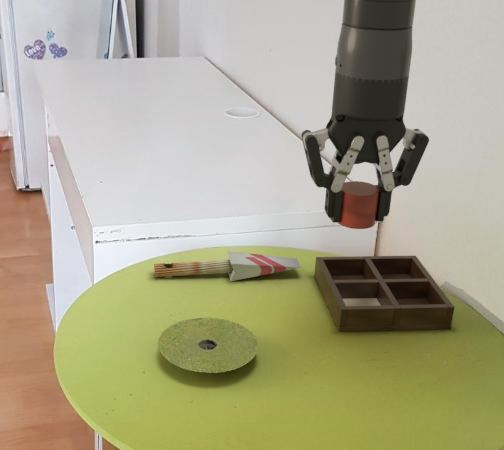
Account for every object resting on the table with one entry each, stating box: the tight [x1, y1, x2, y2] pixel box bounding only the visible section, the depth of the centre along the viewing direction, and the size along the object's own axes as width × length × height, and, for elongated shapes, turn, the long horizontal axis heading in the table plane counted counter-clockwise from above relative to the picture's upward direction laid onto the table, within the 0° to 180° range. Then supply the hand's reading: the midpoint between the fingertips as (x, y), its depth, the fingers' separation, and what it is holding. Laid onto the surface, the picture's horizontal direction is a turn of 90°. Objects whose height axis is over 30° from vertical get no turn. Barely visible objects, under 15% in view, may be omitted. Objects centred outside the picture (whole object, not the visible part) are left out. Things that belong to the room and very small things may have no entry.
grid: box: [313, 255, 455, 332], centre depth 97 cm, size 14×14×3 cm
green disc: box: [157, 317, 259, 374], centre depth 85 cm, size 11×11×2 cm
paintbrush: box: [153, 250, 302, 282], centre depth 103 cm, size 4×3×20 cm
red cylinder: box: [336, 180, 379, 230], centre depth 84 cm, size 4×4×4 cm
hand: (356, 218), depth 85 cm, fingers closed on red cylinder, 4 cm apart
